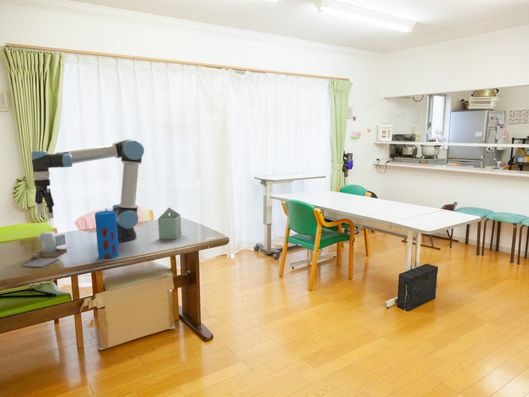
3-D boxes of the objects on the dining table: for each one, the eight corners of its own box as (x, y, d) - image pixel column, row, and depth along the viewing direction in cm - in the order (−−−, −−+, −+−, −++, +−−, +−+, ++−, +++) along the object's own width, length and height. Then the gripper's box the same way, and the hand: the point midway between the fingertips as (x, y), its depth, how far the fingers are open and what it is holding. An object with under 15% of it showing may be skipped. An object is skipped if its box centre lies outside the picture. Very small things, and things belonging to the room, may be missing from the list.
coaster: (58, 260, 205) (58, 258, 205) (42, 267, 193) (42, 266, 193) (39, 258, 207) (39, 257, 207) (22, 266, 195) (21, 265, 195)
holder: (66, 252, 218) (66, 248, 218) (52, 258, 207) (51, 255, 206) (48, 251, 220) (48, 247, 220) (32, 257, 209) (32, 254, 209)
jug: (43, 258, 208) (40, 235, 206) (38, 255, 212) (35, 233, 210) (68, 252, 218) (66, 230, 216) (63, 250, 222) (60, 228, 220)
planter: (165, 241, 240) (163, 211, 236) (159, 238, 245) (157, 209, 242) (187, 236, 251) (186, 207, 247) (181, 234, 256) (179, 205, 253)
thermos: (102, 253, 217) (98, 210, 212) (121, 252, 218) (118, 210, 213) (95, 259, 206) (91, 214, 202) (115, 258, 207) (112, 214, 203)
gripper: (58, 180, 201) (62, 218, 205) (40, 176, 217) (44, 212, 221) (43, 181, 195) (47, 221, 199) (25, 177, 211) (30, 214, 215)
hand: (45, 216), depth 210 cm, fingers open, 13 cm apart
